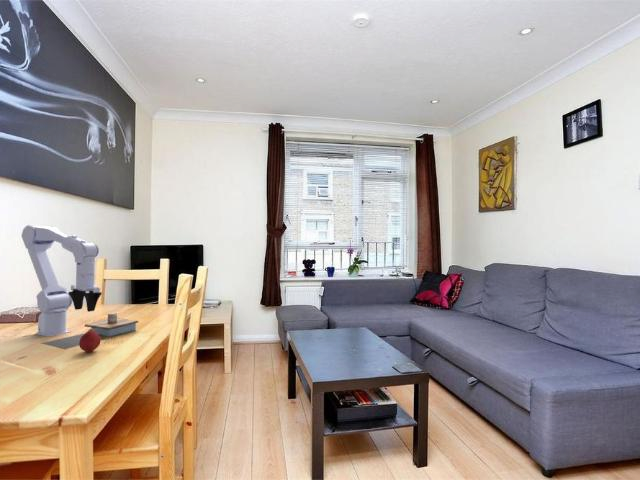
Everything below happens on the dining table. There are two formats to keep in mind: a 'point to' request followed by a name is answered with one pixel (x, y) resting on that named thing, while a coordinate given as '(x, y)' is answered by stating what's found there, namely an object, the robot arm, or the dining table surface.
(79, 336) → the mat
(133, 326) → the light blue tray
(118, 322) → the lid
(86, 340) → the onion
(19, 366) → the dining table surface
